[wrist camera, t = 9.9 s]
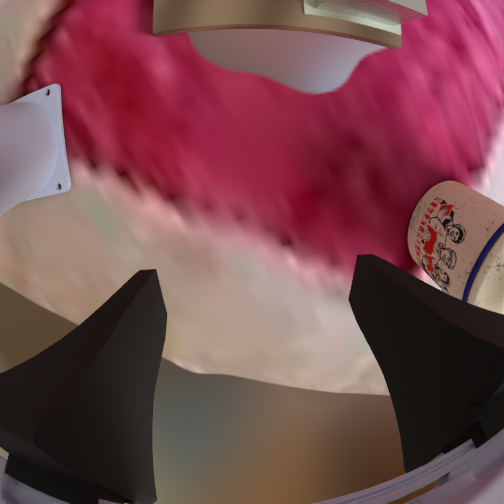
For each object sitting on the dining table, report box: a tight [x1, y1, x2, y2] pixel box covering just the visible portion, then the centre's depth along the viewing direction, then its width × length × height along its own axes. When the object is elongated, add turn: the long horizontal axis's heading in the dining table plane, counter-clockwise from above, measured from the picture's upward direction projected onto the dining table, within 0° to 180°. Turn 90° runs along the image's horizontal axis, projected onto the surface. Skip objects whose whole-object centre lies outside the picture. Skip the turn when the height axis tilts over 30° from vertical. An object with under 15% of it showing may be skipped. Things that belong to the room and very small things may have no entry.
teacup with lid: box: [408, 181, 504, 314], centre depth 17 cm, size 12×9×12 cm
